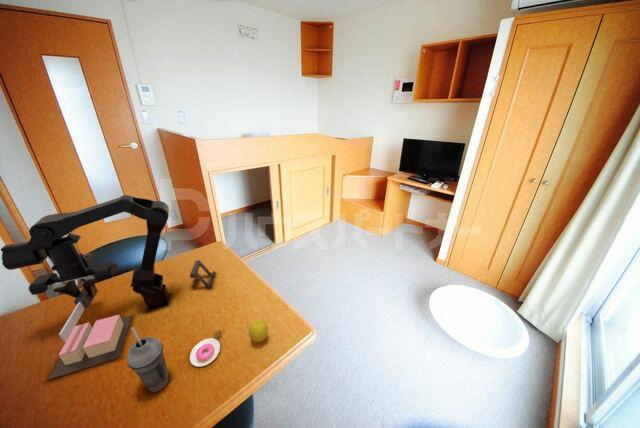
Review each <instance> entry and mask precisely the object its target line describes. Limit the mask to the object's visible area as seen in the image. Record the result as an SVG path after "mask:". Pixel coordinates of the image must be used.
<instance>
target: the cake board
mask: <svg viewBox="0 0 640 428" xmlns="http://www.w3.org/2000/svg"><path fill="white" fill-rule="evenodd" d="M121 319H122V321H123V323H124V325H123V328H122V331H121V334H120V337H119V340H118V342H117V345H116V348H115V350H114V351H111V352H108V353H104V354H101V355H98V356H94V357H91V358H89V357H88V356H87V354H86V352H85V354H84V356H83V359H82V360H81V361H78V362H75V363H72V364H68V365H65V364H64V362H63V361H62V359H61V358H60V357H59V359H58V361H57V363H56V365H55V366H54V368H53V370H52V372H51V374H50V376H49V378H48V381H52V380H56V379H58V378H61V377H64V376H68V375H71V374H74V373H77V372H80V371H83V370H87V369H91V368H93V367H96V366H100V365H103V364H106V363H110V362H112V361H116V360H119V359H120V357H121V353H122V349H123V346H124V343H125V341H126V337H127V335H128V332H129V329H130V324H131V322H132V319H133V315H130V316H127V317H123V318H122V317H121ZM91 326H92V325H91ZM93 326H94V325H93ZM93 326H92V328H93Z"/></svg>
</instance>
